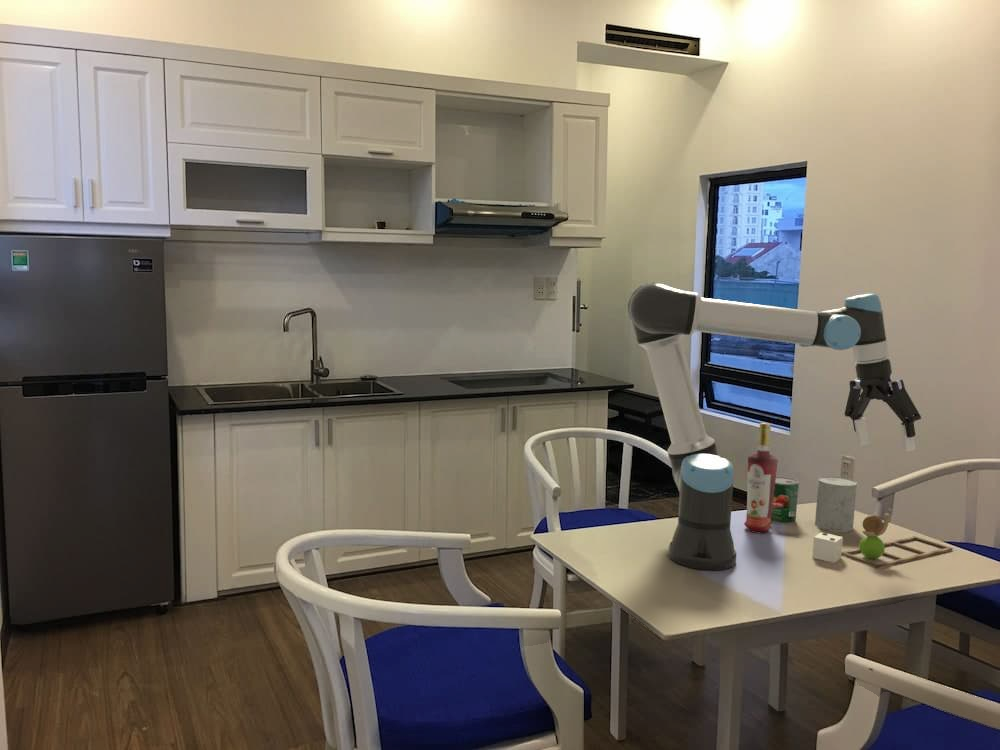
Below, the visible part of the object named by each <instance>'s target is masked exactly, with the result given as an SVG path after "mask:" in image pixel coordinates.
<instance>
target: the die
mask: <svg viewBox="0 0 1000 750" xmlns="http://www.w3.org/2000/svg"><path fill="white" fill-rule="evenodd" d="M843 539H844V536H841V535H840V536H838V535H836V534H831V533H827V532H823V531H822V532H820V533H818V534H816V535H815V536H814V537H813V542H812V543H813V546H812V555H811V556H812V558H813V559H815V560H820V561H825V562H828V563H833V564H835V563H837V561H840V559H842V556H843V555H842V552H843V543H844V540H843Z"/></svg>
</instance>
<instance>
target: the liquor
mask: <svg viewBox="0 0 1000 750" xmlns="http://www.w3.org/2000/svg"><path fill="white" fill-rule="evenodd" d="M771 426H772V425H771V423H768V422H760V423H759V435H760V436H759V438H758V439H759V440H758V445H757V451H756V452H755V453H752V454H750V455H749V456H748V457H747V477H746V478H747V479H746V480H747V482H746V483H747V484H746V485H747V488H746V490H747V493H746V494H747V496H746V497H747V499H746V520H745V522H744V523H743V524H744V526H745V527H746V528H747V529H748V531H750V532H752V533H757V534H764V533H767V532H769V531H770V530H771V529H772V528H773V525H772V522H771V513H772V503H773V495H774V488H775V481H776V477H777V473H778V472H777V470H778V464H779V463H778V462H779V460H778V459H777V457H775V456H774V455H772V454H770V434H771Z"/></svg>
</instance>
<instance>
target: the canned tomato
mask: <svg viewBox="0 0 1000 750" xmlns="http://www.w3.org/2000/svg"><path fill="white" fill-rule="evenodd" d="M799 483H800V481H799V480H797V479H794V478H792V477H784V476H776V481H775V488H774V495H773V503H772V513H771V523H774V524H779V525H793V524H795V523H796V522H797V521H796V519H797V508H798V498H799V497H798V496H799Z"/></svg>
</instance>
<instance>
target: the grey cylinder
mask: <svg viewBox="0 0 1000 750" xmlns="http://www.w3.org/2000/svg"><path fill="white" fill-rule="evenodd" d="M817 480H818V483H817V494H816V495H817V497H816V506H815V507H816V508H815V517H814V525H815V526H816V527H817V528H820V529H822V530H826V531H831V532H839V533H846V532H852V531H853V530H854V521H855V510H856V500H857V499H856V498H857V486H858V482H857V481H855V480H853V479H850V478H845V477H837V476H820V477H819V478H818V479H817Z"/></svg>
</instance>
